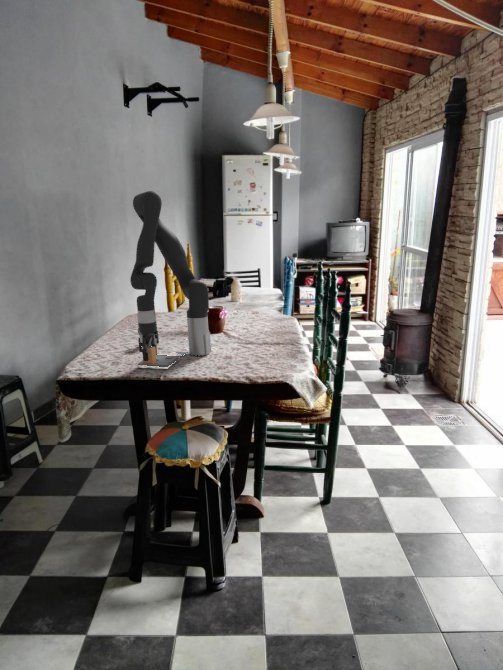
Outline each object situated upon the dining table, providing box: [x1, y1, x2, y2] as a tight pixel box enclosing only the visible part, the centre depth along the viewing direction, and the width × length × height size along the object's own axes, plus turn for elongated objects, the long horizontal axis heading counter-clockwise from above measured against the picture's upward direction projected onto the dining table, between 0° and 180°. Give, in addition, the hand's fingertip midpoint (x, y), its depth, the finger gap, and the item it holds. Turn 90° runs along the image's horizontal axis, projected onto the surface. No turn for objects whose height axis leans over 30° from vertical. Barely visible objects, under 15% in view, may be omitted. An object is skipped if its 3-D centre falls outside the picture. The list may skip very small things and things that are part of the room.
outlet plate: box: [137, 355, 180, 367], centre depth 220 cm, size 13×13×2 cm
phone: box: [172, 350, 189, 356], centre depth 234 cm, size 6×13×1 cm, turn 75°
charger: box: [144, 346, 157, 364], centre depth 217 cm, size 4×4×8 cm
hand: (150, 357), depth 217 cm, fingers open, 8 cm apart
